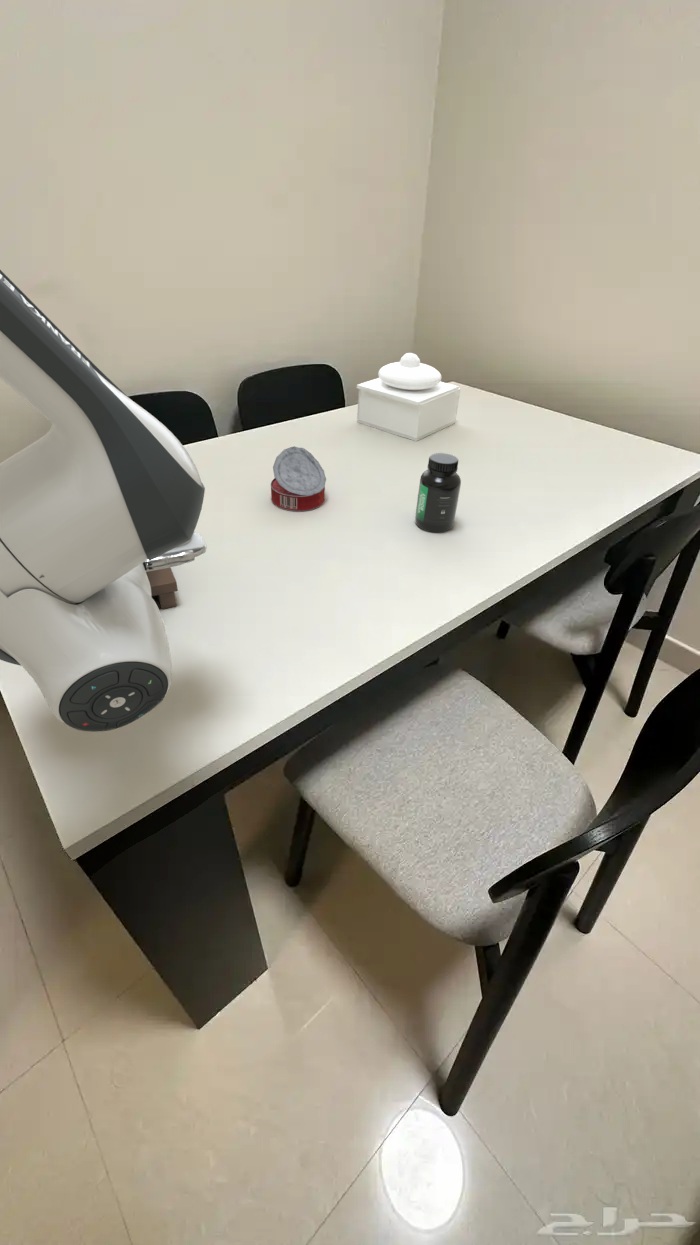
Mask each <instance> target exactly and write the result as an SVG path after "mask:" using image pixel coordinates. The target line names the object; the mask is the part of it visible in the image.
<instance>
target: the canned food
mask: <svg viewBox="0 0 700 1245" xmlns="http://www.w3.org/2000/svg"><path fill="white" fill-rule="evenodd" d="M272 471H273V477H274V478H273V479H272V480H271V482H270V496H271V498H270V500H271V503H272V504H273V505H274V506H275V507H277V508H279V509H281V510H284V511H289V512H308V511H312V510H316V509H318V508H320V507H321V506H323V505H324V503H325V497H326V496H325V495H326V482H327V477H326V473H325V470H324V469H323V467H322V466H321V464H320V462H319V460H317V459H316V458H315V457H314V455H313V454H312V453H311V452H310V451H308V450H307V449H306V448H304V447H298V446H291V447H287V448H285V449H283V450H282V451H281V452H280V453H279V454H278V455H277V456H276V457H275V460H274V462H273V465H272Z"/></svg>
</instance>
